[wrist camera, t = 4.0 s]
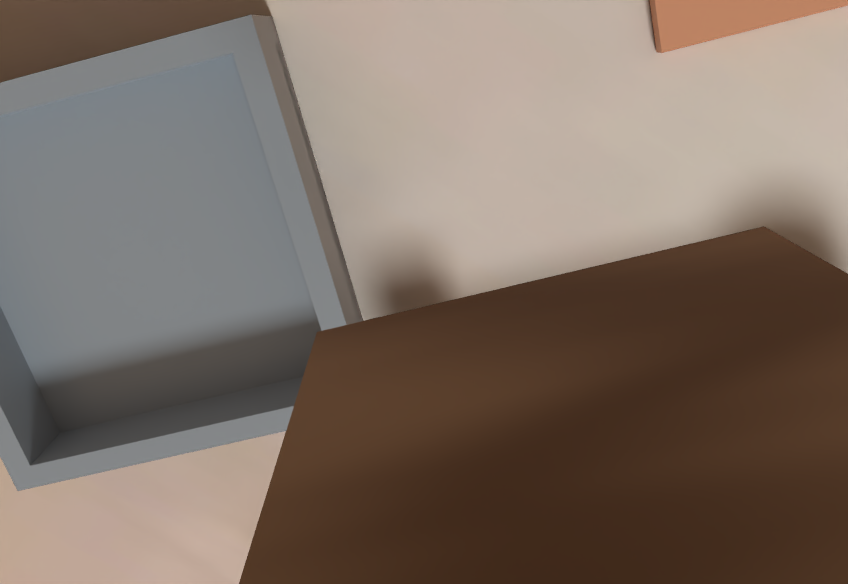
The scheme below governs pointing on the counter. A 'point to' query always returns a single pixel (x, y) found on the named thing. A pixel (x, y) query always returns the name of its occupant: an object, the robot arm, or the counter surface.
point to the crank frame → (723, 18)
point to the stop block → (579, 431)
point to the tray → (158, 253)
